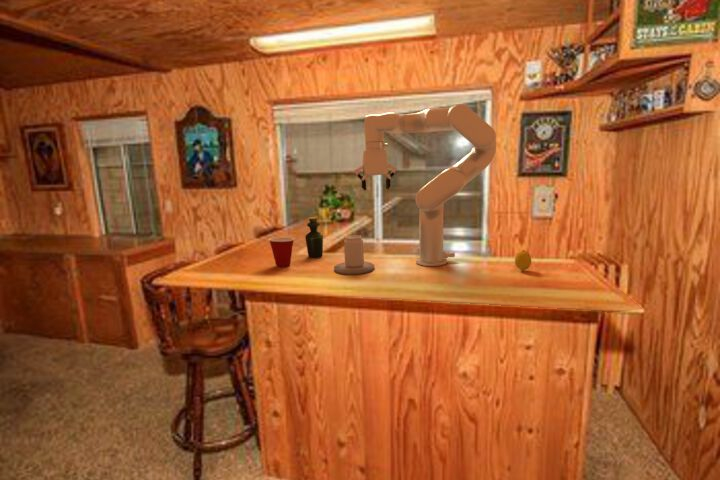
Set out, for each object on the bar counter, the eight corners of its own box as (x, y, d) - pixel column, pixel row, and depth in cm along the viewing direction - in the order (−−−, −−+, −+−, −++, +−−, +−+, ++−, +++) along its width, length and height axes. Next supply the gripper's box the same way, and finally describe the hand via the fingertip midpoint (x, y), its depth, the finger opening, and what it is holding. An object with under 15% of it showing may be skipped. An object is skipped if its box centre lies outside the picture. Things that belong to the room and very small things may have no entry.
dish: (370, 262, 164) (370, 259, 164) (378, 272, 149) (378, 269, 149) (332, 265, 162) (332, 262, 162) (336, 276, 146) (336, 273, 146)
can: (362, 268, 151) (360, 238, 148) (343, 268, 152) (341, 238, 150) (365, 263, 158) (364, 234, 156) (347, 263, 159) (346, 234, 157)
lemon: (530, 269, 145) (531, 248, 143) (531, 273, 140) (532, 251, 138) (514, 268, 146) (514, 248, 145) (514, 272, 141) (515, 251, 140)
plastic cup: (301, 264, 166) (299, 237, 164) (280, 270, 158) (278, 241, 156) (286, 261, 173) (284, 234, 171) (265, 266, 165) (263, 238, 163)
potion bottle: (303, 257, 179) (300, 218, 176) (317, 253, 185) (314, 216, 181) (313, 259, 174) (310, 219, 170) (327, 256, 179) (325, 217, 175)
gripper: (393, 146, 163) (394, 188, 166) (352, 148, 160) (354, 190, 163) (397, 145, 155) (398, 189, 159) (355, 147, 153) (356, 191, 156)
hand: (376, 189), depth 161 cm, fingers open, 9 cm apart
